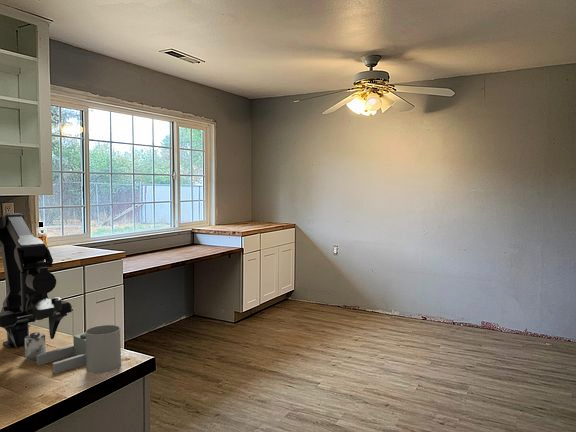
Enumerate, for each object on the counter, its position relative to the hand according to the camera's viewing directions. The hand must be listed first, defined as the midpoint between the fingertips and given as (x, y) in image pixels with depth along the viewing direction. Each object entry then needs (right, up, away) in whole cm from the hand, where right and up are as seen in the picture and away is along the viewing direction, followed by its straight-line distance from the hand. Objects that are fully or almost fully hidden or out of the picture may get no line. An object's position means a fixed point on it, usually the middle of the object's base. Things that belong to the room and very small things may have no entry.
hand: (35, 343), depth 126 cm
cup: (+22, -5, -7) cm, 23 cm away
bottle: (0, -4, 0) cm, 4 cm away
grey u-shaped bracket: (+11, -4, -2) cm, 12 cm away
